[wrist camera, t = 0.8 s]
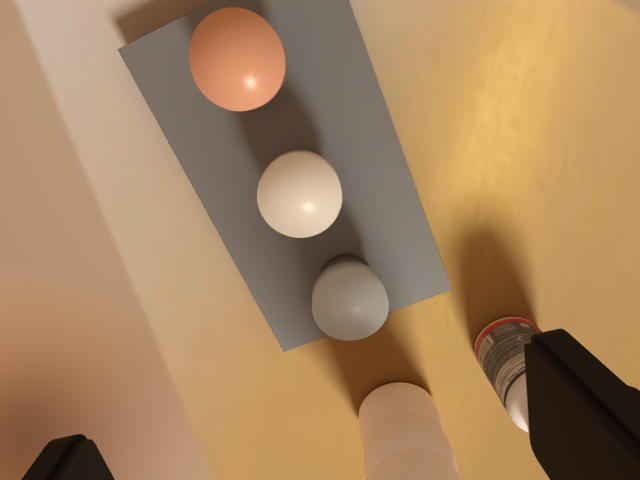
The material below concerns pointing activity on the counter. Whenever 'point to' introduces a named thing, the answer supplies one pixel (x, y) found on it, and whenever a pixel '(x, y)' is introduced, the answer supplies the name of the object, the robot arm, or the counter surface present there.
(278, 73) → the terracotta button
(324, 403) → the counter surface
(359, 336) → the bluegrey button
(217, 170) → the button panel
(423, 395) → the water bottle
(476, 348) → the pill bottle
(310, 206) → the white button
